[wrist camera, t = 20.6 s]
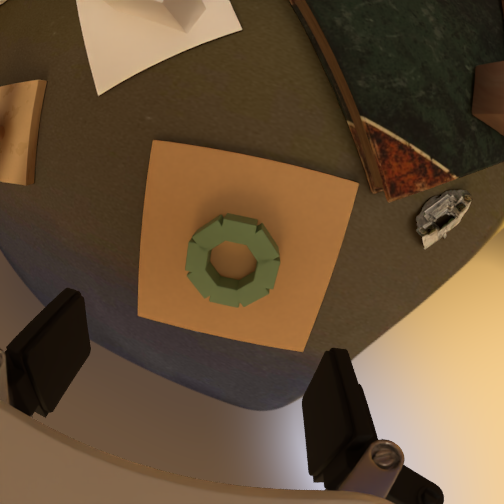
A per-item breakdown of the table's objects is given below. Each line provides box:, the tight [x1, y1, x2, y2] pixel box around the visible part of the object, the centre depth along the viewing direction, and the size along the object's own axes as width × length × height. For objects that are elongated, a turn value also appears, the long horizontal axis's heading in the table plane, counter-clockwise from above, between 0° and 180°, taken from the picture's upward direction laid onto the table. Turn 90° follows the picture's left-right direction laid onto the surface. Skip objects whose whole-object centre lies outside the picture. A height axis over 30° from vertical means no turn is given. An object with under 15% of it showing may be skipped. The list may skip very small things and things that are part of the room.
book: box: [289, 0, 504, 203], centre depth 12 cm, size 17×4×25 cm
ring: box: [185, 213, 280, 308], centre depth 20 cm, size 6×6×2 cm
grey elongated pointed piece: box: [416, 190, 472, 249], centre depth 19 cm, size 6×2×3 cm
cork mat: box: [138, 140, 359, 352], centre depth 21 cm, size 14×14×1 cm
